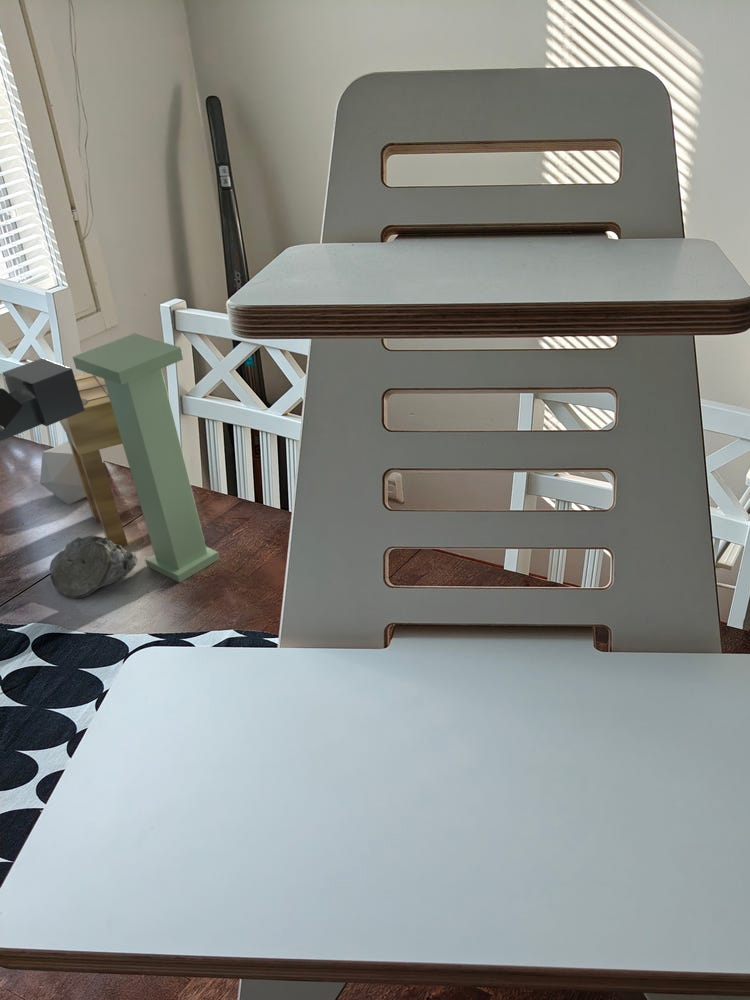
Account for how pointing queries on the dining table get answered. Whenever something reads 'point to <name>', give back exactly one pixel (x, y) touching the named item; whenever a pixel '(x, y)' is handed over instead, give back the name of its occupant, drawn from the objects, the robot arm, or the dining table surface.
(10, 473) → the dining table surface
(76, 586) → the grey rough chunk
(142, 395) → the shelf stand
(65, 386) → the t-shaped mallet
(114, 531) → the go table
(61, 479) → the die
